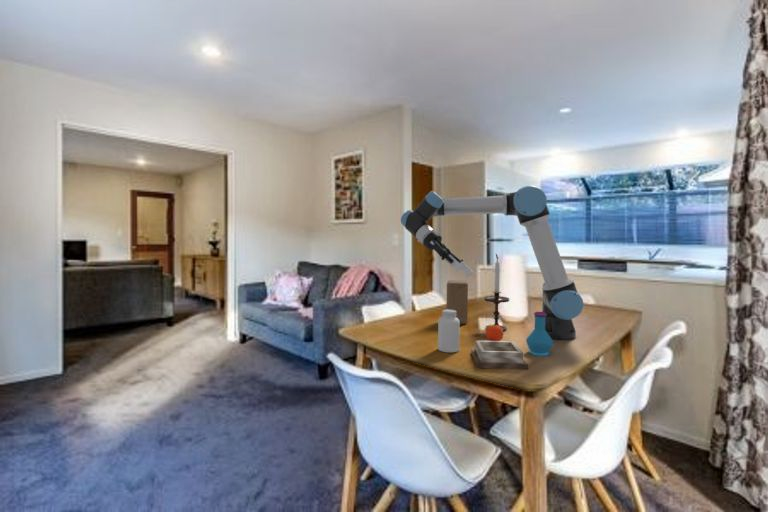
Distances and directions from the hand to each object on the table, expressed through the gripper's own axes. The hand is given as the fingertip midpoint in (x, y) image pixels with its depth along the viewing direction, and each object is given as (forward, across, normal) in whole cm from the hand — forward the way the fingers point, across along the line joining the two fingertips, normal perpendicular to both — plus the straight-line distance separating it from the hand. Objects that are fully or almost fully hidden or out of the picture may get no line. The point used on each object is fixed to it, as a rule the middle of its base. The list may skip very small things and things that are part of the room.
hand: (465, 271), depth 152 cm
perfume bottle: (+38, -13, -5) cm, 40 cm away
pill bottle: (+16, 0, -26) cm, 31 cm away
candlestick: (+16, -39, -14) cm, 44 cm away
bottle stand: (+31, +3, -15) cm, 35 cm away
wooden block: (-2, -44, -26) cm, 51 cm away
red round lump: (+22, -19, -15) cm, 33 cm away
